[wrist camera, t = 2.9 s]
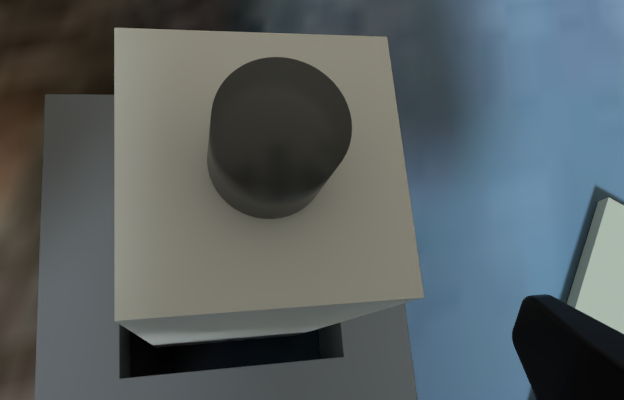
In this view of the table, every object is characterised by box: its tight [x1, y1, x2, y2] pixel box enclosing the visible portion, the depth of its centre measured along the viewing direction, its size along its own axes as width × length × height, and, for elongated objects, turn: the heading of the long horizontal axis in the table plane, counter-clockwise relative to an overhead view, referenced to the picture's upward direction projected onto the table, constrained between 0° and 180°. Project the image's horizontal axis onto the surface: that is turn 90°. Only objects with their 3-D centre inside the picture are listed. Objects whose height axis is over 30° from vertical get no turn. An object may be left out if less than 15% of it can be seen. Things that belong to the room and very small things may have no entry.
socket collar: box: [35, 94, 417, 400], centre depth 17 cm, size 10×10×3 cm
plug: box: [114, 28, 424, 348], centre depth 13 cm, size 4×4×12 cm
